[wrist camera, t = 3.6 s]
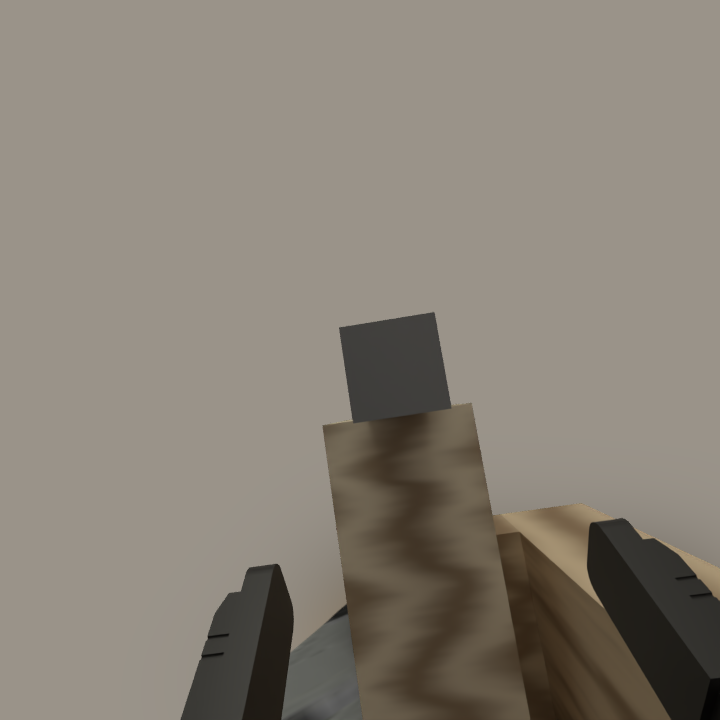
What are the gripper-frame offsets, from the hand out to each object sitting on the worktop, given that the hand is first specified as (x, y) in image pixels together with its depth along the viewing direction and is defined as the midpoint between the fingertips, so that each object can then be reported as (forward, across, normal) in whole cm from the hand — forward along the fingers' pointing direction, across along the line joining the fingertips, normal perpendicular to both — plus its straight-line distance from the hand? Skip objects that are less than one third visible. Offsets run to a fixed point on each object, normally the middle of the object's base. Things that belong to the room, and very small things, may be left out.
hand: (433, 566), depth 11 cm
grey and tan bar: (+18, 0, +6) cm, 19 cm away
